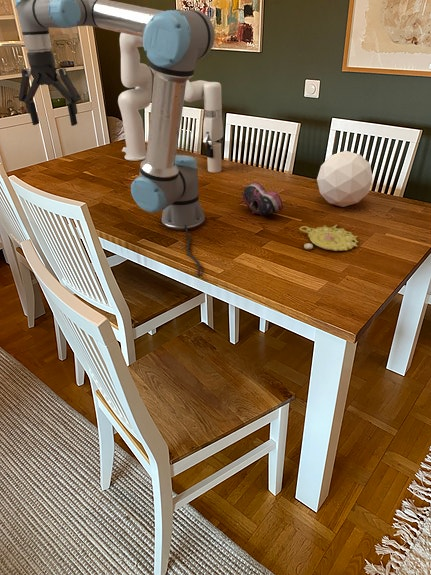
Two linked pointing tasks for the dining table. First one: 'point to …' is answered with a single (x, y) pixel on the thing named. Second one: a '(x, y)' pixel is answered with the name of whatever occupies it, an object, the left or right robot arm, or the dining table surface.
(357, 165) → the sphere
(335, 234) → the decorative object
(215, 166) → the canister
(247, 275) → the dining table surface
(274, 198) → the athletic shoe
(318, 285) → the dining table surface
